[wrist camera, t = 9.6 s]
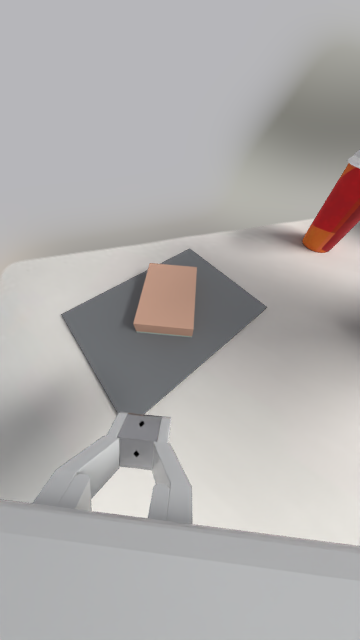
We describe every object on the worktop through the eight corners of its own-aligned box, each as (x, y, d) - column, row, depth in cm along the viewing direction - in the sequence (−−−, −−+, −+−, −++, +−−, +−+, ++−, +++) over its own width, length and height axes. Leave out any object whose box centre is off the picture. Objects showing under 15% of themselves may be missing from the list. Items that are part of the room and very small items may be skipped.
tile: (193, 329, 22) (196, 267, 29) (133, 323, 23) (149, 263, 29) (191, 337, 25) (195, 277, 31) (136, 332, 25) (151, 273, 31)
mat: (189, 250, 36) (189, 248, 35) (265, 308, 28) (267, 307, 28) (63, 316, 26) (61, 314, 26) (127, 428, 19) (126, 428, 19)
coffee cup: (332, 237, 40) (406, 148, 27) (340, 259, 36) (432, 166, 23) (294, 230, 41) (349, 141, 28) (297, 251, 37) (364, 158, 24)
